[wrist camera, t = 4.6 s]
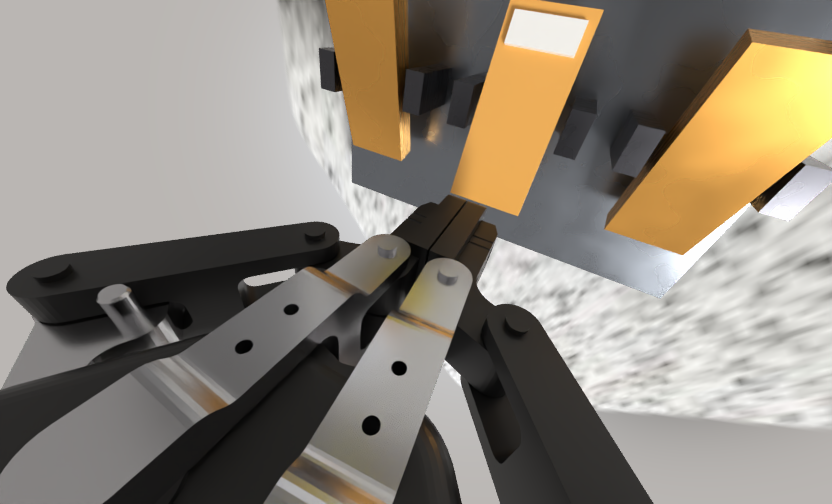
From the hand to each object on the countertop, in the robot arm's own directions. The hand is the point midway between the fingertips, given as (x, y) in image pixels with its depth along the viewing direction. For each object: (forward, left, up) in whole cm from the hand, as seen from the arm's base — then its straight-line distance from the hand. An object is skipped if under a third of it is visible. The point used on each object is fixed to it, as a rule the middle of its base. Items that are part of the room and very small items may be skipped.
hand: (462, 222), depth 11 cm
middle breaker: (0, -3, -3) cm, 5 cm away
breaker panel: (0, -3, -8) cm, 9 cm away
